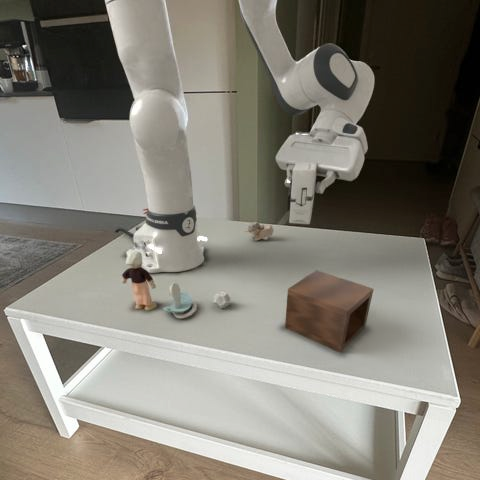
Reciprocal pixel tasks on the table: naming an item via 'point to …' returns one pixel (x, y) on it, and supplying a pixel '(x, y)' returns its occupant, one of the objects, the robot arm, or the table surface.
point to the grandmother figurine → (139, 281)
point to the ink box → (302, 192)
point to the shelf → (328, 309)
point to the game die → (221, 299)
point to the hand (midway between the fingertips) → (302, 188)
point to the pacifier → (180, 302)
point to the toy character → (260, 231)
